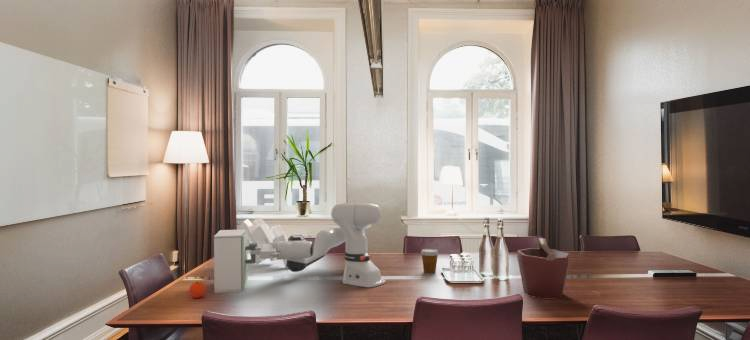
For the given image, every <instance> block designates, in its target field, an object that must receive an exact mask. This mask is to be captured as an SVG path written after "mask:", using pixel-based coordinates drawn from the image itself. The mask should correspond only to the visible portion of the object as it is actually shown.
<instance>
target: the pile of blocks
mask: <svg viewBox="0 0 750 340" xmlns="http://www.w3.org/2000/svg"><path fill="white" fill-rule="evenodd" d="M239 228H240V229H241V230H243V229H245V230H247V246H249V244H250V243H257V247H256V248H261V246H262V244H265V243H274V242H276V243H277V241H288V239H289V237H288V235H287V233H286V232H285V230H284V228H283V227H282V225H281V224H280V223H279V224H277V225H273V226H271V228H270V227H269V225H268V224H267V222H265V221H264V219H263V218H262V217H260V218H256V219H253V222H252V221H251V220H250V219H248V218H247V219H245V220H243V221H242V222H241V223H240V225H239ZM248 253H249V255H250V257H251V250H248ZM265 260H266V259H260V255H256V262H255V264H256V265H259V264H260V263H263V262H264V261H265ZM269 260H270V261H271V262H273V261H276V260H277V257H276V258H270V259H269ZM282 261H283V265H284V267H285V268H287V266H286V263H287V259H282Z"/></svg>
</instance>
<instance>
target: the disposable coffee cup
mask: <svg viewBox="0 0 750 340" xmlns="http://www.w3.org/2000/svg"><path fill="white" fill-rule="evenodd" d="M420 254H421V260H422V266H423V267H422V268H423V273H424V274H427V273H433V274H436V270H437V261H438V256H439V252H438V249H436V248H423V249H421V252H420Z"/></svg>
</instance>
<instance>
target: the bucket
mask: <svg viewBox="0 0 750 340" xmlns="http://www.w3.org/2000/svg"><path fill="white" fill-rule="evenodd" d="M537 243H538V244H537V247H536V248H535V247H534V248H533V247H530V248H525V249H519V250H517V252H516V253H517V254H516V255H517V263H518V268H519V273H520V277H521V283H522V288H523V291H525V292H526V293H527V294H528V295H530V296H529V297H532V296H535V297H534V298H537V297H540V298H539V299H541V298H560V299H562V297H563V295H562V294H564V289H565V285H566V281H567V275H568V271H569V267H570V261H571V253H570V252H567V251H566V252H565V251H563V250H562V251H561V250H559V249H558V250H557V249H553V248H552V249H551V248H550V247H549V246H548V243H547V238H543V237H538V240H537ZM526 293H525V294H526ZM527 294H526V295H527ZM528 295H527V296H528ZM561 296H562V297H561Z"/></svg>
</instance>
